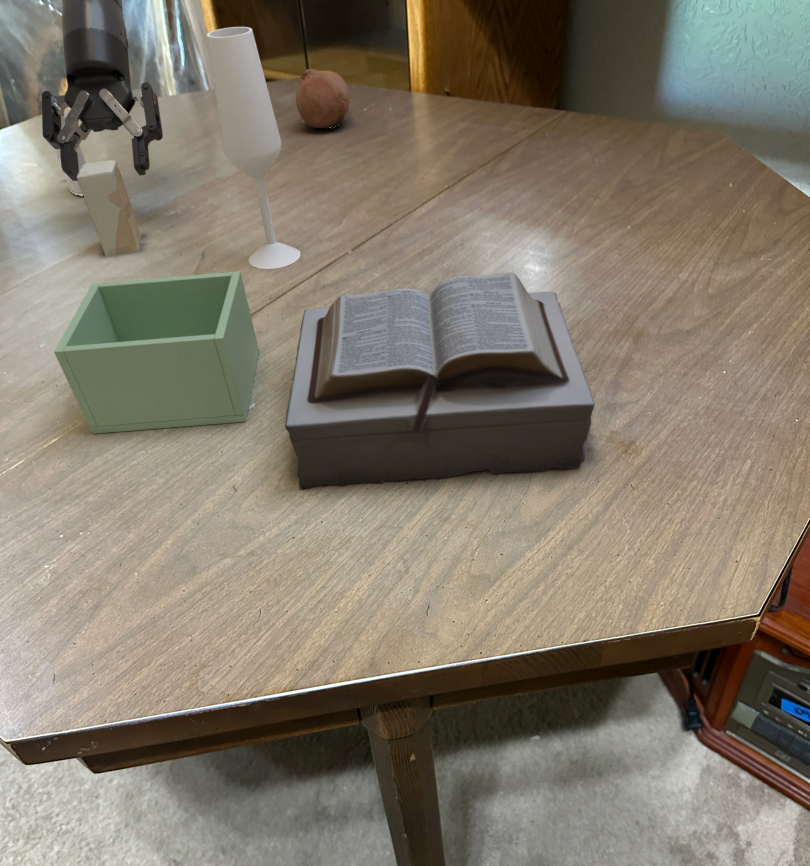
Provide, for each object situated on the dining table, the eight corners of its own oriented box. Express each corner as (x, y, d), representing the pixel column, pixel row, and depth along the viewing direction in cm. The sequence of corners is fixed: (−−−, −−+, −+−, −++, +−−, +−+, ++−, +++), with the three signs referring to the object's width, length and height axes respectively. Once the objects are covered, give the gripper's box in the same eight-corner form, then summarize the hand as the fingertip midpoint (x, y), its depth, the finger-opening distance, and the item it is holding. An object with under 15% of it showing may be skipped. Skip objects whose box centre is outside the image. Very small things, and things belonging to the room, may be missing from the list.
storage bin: (92, 434, 68) (53, 351, 61) (123, 361, 76) (92, 283, 70) (246, 421, 67) (223, 337, 61) (259, 350, 76) (240, 270, 70)
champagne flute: (271, 273, 89) (223, 42, 72) (237, 260, 92) (184, 36, 75) (311, 254, 92) (274, 28, 75) (277, 241, 95) (235, 22, 78)
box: (141, 262, 94) (111, 172, 86) (108, 267, 93) (74, 177, 85) (145, 246, 97) (116, 157, 89) (113, 250, 97) (81, 162, 89)
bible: (585, 508, 56) (601, 404, 49) (258, 486, 61) (230, 388, 54) (584, 349, 72) (597, 253, 65) (325, 341, 77) (310, 250, 70)
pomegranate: (308, 147, 131) (275, 91, 125) (344, 118, 133) (314, 62, 127) (331, 137, 123) (298, 77, 118) (370, 106, 125) (338, 46, 120)
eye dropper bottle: (66, 199, 111) (33, 113, 103) (71, 187, 115) (39, 102, 107) (95, 195, 112) (64, 109, 103) (99, 183, 116) (69, 98, 107)
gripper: (23, 30, 87) (35, 165, 87) (140, 19, 86) (151, 154, 87) (55, 70, 94) (65, 194, 94) (162, 60, 94) (172, 184, 94)
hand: (106, 175), depth 90 cm, fingers open, 8 cm apart
